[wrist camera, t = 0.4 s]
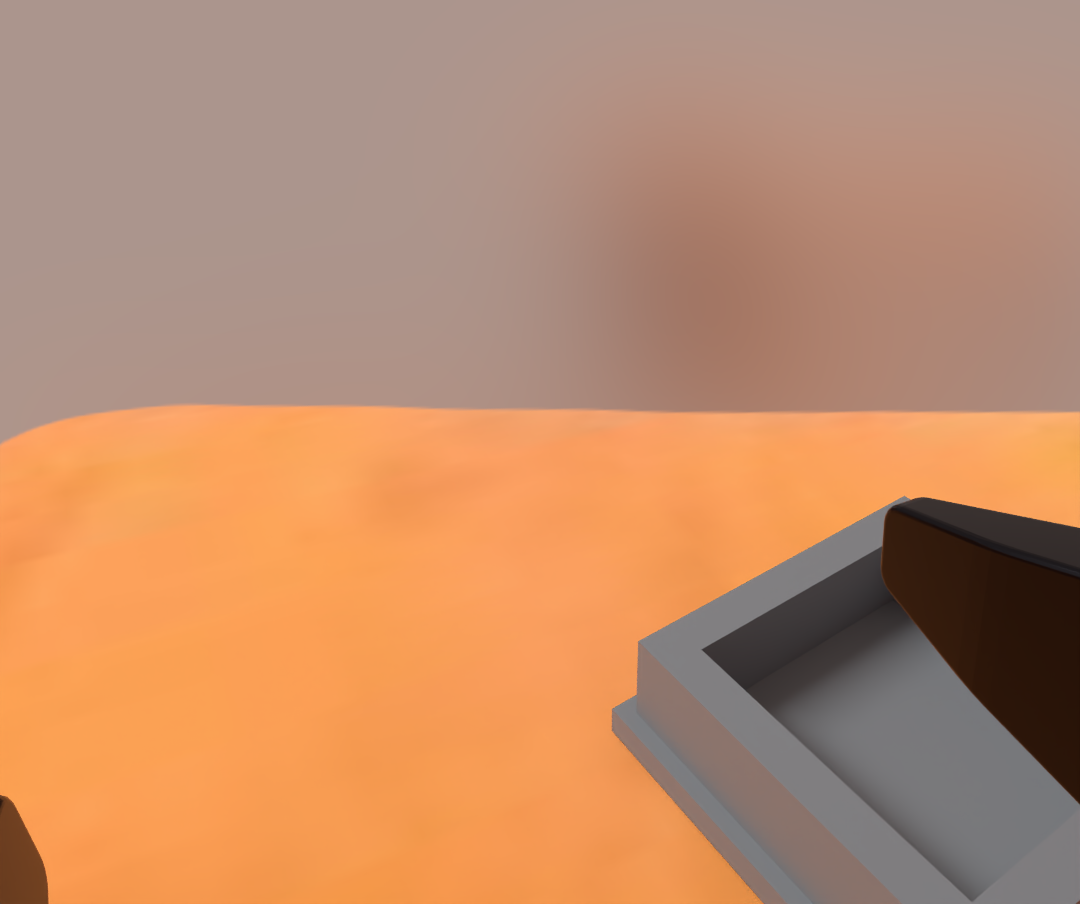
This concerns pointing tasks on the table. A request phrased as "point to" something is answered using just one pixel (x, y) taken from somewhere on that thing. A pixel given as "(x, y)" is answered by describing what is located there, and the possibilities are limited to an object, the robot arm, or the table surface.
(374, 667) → the table surface
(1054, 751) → the robot arm
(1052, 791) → the slate socket block
